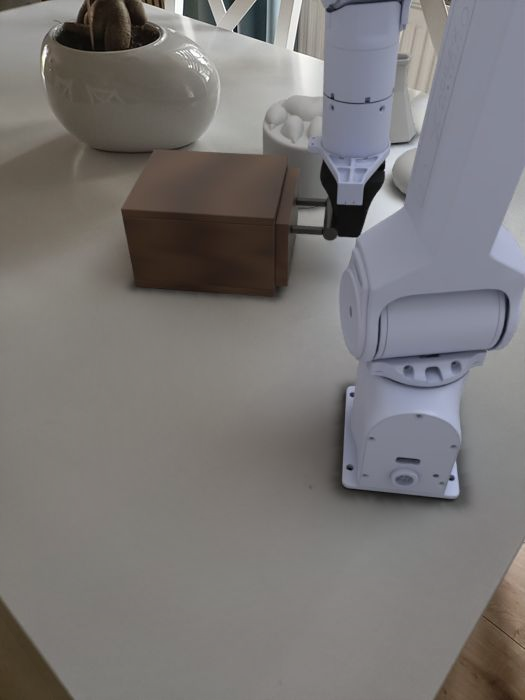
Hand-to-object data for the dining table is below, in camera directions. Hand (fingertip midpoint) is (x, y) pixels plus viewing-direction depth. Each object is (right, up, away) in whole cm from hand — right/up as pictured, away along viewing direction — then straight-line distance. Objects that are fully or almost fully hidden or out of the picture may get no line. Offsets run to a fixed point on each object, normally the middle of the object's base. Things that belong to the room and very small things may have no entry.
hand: (348, 233), depth 60 cm
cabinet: (-13, -2, +4) cm, 14 cm away
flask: (+9, +18, +25) cm, 32 cm away
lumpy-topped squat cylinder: (-3, +9, +16) cm, 18 cm away
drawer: (-9, -1, +3) cm, 10 cm away
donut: (+12, +8, +14) cm, 20 cm away
